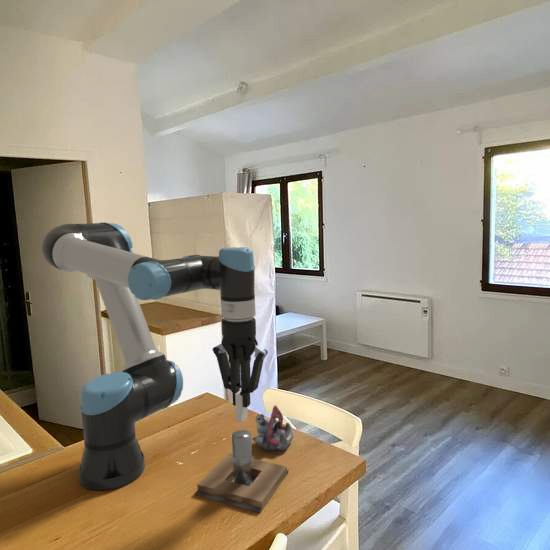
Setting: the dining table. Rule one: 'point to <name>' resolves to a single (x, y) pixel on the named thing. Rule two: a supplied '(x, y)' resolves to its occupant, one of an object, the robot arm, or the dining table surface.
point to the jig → (241, 495)
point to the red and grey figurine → (273, 431)
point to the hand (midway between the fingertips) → (242, 419)
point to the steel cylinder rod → (242, 457)
